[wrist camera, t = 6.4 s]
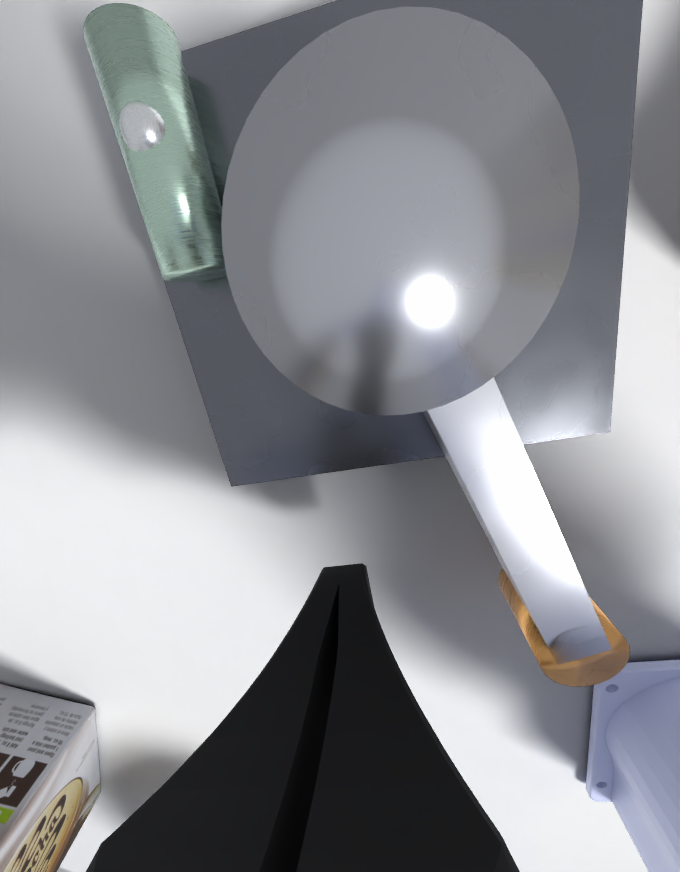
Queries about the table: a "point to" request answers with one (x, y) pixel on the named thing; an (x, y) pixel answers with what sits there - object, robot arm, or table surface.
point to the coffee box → (44, 777)
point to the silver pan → (422, 268)
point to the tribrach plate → (203, 199)
